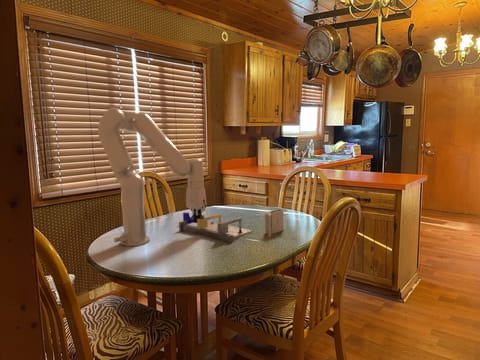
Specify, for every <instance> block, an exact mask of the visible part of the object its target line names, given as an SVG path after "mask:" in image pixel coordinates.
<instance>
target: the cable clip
mask: <svg viewBox="0 0 480 360" xmlns="http://www.w3.org/2000/svg"><path fill="white" fill-rule="evenodd" d="M201 215H203V213H202V214H201ZM182 219H183V220H182V221H187V224H188V225H191V224H193V223H194V215H193V214H192V215H191V216H190V213H189V212H183V213H182Z"/></svg>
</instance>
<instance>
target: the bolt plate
mask: <svg viewBox="0 0 480 360" xmlns="http://www.w3.org/2000/svg"><path fill="white" fill-rule="evenodd" d="M207 222H208V221H207ZM217 223H218V222H214V221H209V222H208V228H205V229H209V230H213V231H217V232H218V227H217ZM195 226H196V227H197V225H195ZM252 232H253V230H251V229H247V228H242V232H239V226H237V227H236V226H232V225H230V224H228V233H226V234H230V235H233V239H237V238H239V237H242V236H245V235H247V234H250V233H252Z"/></svg>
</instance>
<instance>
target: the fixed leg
mask: <svg viewBox="0 0 480 360" xmlns="http://www.w3.org/2000/svg"><path fill="white" fill-rule="evenodd" d="M216 223H217V227H218V234H220V235H223V234H225V233H228V225H231V224H235V223H238V228H239V232H242V227H243V226H242V223H243V222H242V217H236V218H233V219H229V220H222V221H221V222H219V221H218V222H216Z"/></svg>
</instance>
